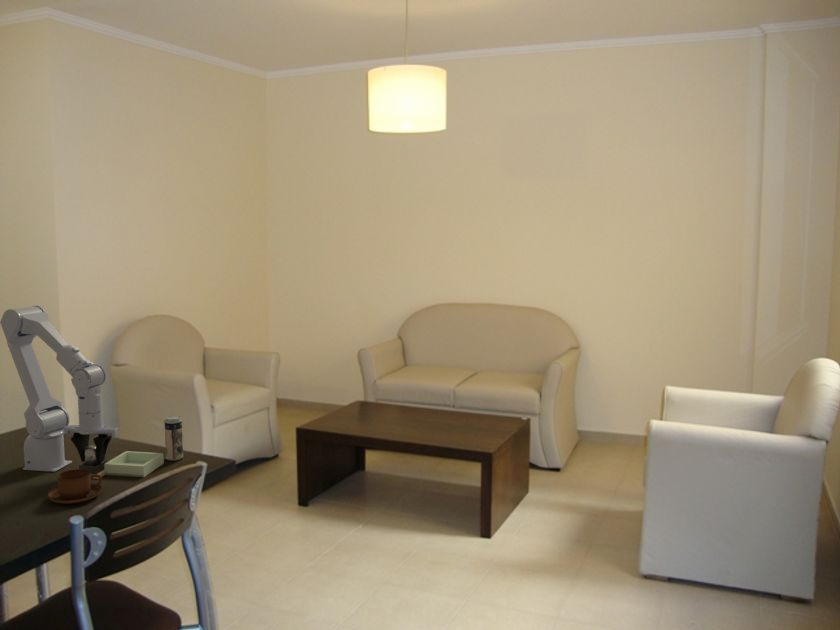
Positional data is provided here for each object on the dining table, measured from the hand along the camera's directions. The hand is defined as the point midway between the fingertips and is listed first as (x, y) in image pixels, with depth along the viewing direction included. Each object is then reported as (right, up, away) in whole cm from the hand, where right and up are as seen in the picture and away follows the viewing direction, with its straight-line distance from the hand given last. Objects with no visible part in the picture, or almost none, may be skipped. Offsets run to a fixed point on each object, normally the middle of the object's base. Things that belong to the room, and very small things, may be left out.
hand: (92, 461), depth 200 cm
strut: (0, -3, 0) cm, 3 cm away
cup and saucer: (+3, -6, -17) cm, 18 cm away
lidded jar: (+17, -2, +13) cm, 22 cm away
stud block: (0, -3, 0) cm, 3 cm away
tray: (+10, -3, +4) cm, 11 cm away
